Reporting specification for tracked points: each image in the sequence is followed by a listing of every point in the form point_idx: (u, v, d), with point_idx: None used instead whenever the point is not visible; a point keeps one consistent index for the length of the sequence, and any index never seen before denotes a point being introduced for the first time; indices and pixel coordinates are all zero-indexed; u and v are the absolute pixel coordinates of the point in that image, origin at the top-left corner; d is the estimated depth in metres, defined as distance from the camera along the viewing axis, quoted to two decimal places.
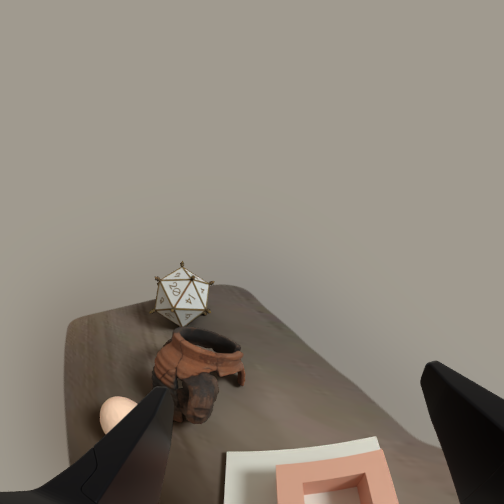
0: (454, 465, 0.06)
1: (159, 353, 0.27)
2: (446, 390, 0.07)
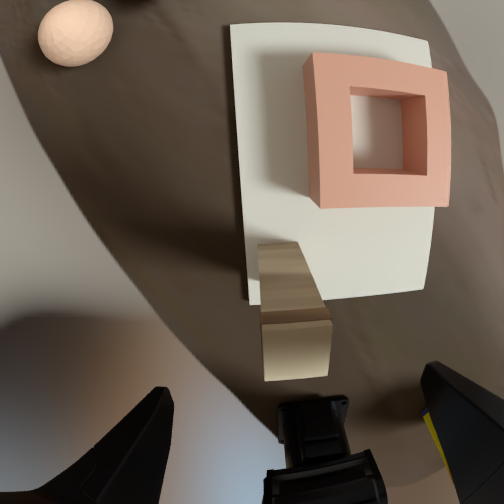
0: (454, 465, 0.06)
1: None
2: (446, 390, 0.07)
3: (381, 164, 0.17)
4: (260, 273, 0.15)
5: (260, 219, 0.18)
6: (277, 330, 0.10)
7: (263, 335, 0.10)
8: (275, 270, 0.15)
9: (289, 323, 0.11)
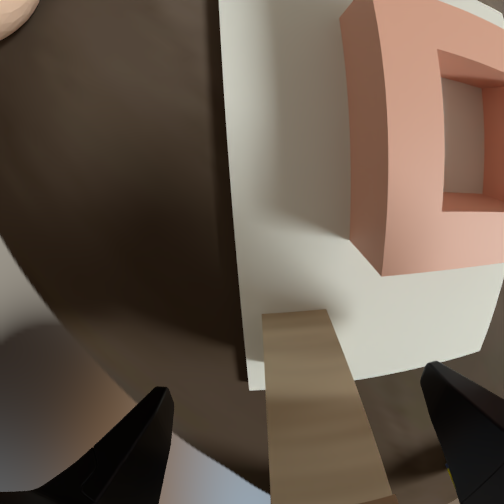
0: (454, 465, 0.06)
1: None
2: (446, 390, 0.07)
3: (457, 186, 0.10)
4: (268, 396, 0.07)
5: (266, 276, 0.11)
6: None
7: None
8: (294, 389, 0.08)
9: None
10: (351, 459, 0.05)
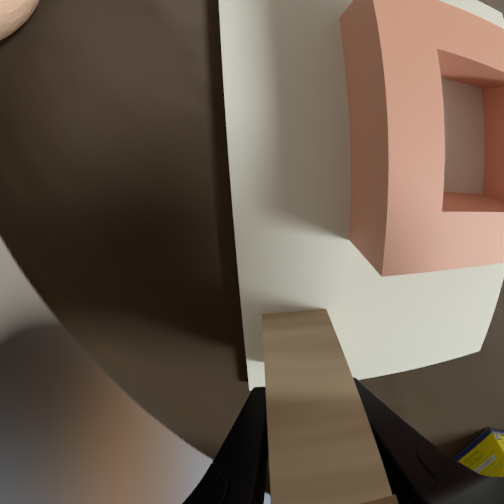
0: None
1: None
2: None
3: (457, 186, 0.10)
4: (268, 396, 0.07)
5: (266, 277, 0.11)
6: None
7: None
8: (294, 389, 0.08)
9: None
10: (351, 459, 0.05)
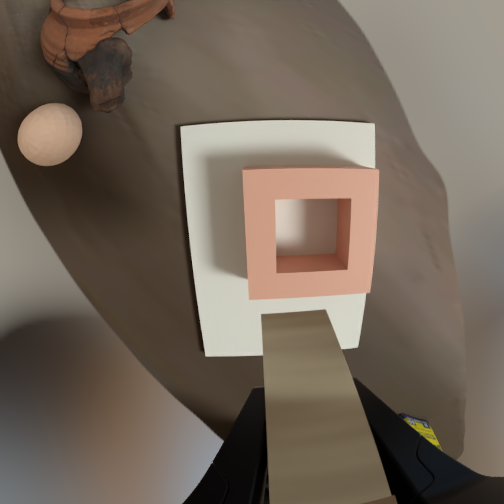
0: None
1: (42, 32, 0.11)
2: None
3: (314, 251, 0.21)
4: (267, 397, 0.07)
5: (209, 295, 0.22)
6: None
7: None
8: (293, 389, 0.08)
9: None
10: (350, 460, 0.05)
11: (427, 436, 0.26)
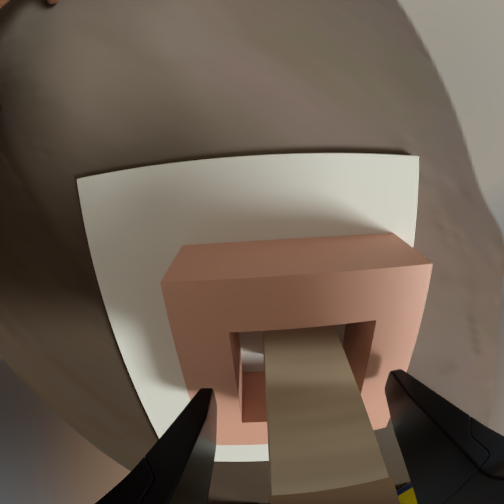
0: (417, 480, 0.06)
1: None
2: (407, 401, 0.07)
3: None
4: (268, 382, 0.08)
5: (160, 409, 0.14)
6: None
7: None
8: (294, 376, 0.08)
9: None
10: (348, 442, 0.06)
11: None
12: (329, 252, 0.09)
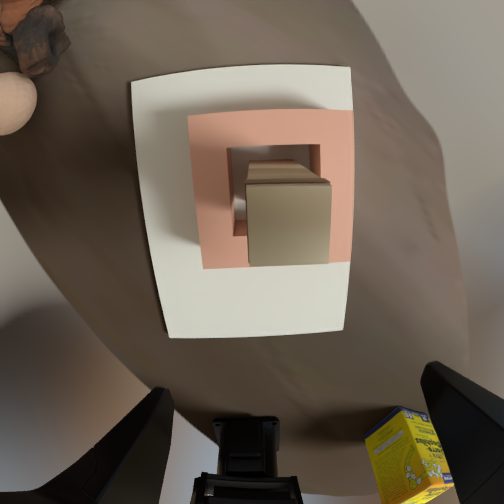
0: (454, 465, 0.06)
1: None
2: (446, 390, 0.07)
3: None
4: (249, 168, 0.13)
5: (167, 268, 0.19)
6: (265, 186, 0.09)
7: (247, 193, 0.09)
8: (266, 167, 0.13)
9: (279, 184, 0.09)
10: (297, 174, 0.11)
11: (425, 431, 0.24)
12: None
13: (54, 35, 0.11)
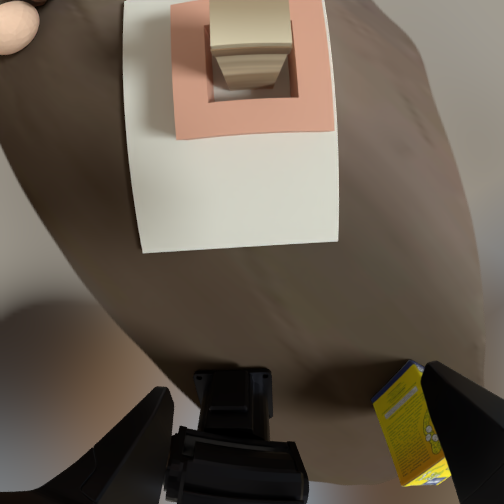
0: (454, 465, 0.06)
1: None
2: (446, 390, 0.07)
3: None
4: None
5: (143, 165, 0.18)
6: None
7: None
8: None
9: None
10: None
11: None
12: None
13: None
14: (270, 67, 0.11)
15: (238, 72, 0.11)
